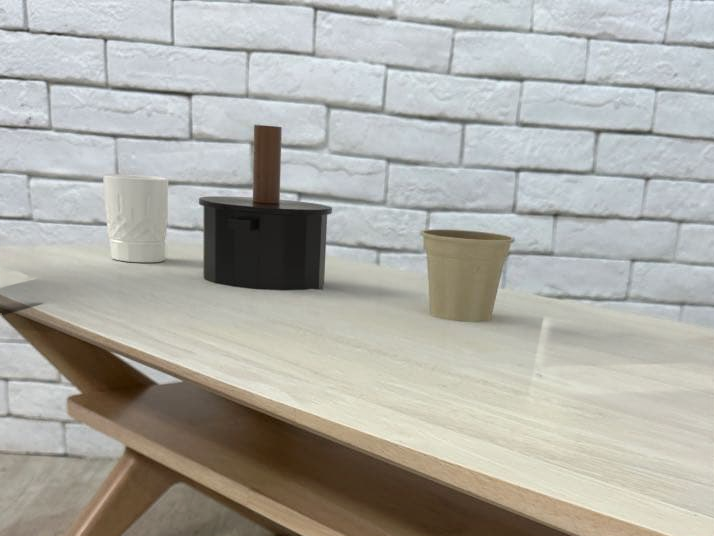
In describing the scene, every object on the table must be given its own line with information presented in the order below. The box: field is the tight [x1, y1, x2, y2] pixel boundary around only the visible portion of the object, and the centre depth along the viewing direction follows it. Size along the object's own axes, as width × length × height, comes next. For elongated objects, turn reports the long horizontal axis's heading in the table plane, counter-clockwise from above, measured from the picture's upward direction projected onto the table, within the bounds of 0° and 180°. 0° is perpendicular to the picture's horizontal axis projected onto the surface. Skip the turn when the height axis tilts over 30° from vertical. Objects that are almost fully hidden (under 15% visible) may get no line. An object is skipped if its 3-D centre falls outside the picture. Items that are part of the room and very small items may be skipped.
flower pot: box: [419, 228, 516, 323], centre depth 100 cm, size 9×9×9 cm
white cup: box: [102, 173, 169, 264], centre depth 126 cm, size 8×8×10 cm
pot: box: [202, 206, 328, 291], centre depth 113 cm, size 14×19×8 cm
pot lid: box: [198, 124, 333, 216], centre depth 110 cm, size 15×15×9 cm
